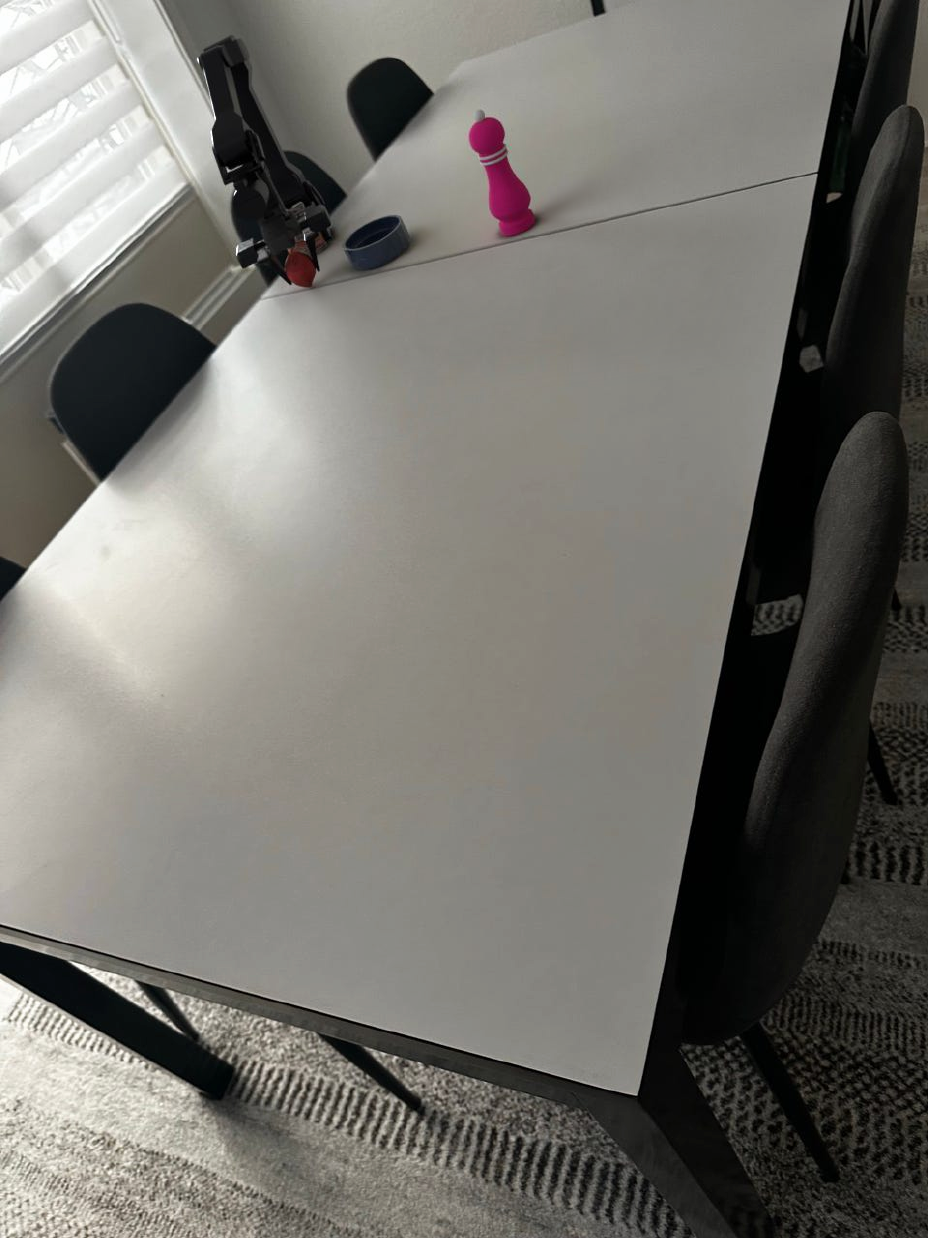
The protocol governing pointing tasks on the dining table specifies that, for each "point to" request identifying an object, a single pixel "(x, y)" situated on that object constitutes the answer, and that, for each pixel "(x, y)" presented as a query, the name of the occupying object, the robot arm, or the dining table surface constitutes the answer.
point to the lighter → (300, 239)
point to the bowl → (376, 242)
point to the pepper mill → (501, 176)
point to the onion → (300, 268)
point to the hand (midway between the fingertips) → (304, 277)
